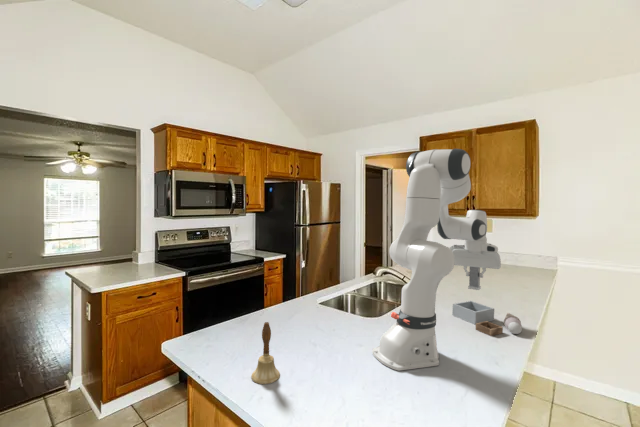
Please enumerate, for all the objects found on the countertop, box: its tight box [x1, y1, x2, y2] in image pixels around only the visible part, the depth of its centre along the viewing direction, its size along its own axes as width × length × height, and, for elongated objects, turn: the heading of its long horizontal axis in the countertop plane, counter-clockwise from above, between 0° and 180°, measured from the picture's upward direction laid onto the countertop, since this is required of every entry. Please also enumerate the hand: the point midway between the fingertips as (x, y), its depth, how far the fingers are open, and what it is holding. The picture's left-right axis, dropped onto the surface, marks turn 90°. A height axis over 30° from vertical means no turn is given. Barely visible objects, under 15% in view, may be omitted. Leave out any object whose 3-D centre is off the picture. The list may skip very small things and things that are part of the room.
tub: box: [451, 300, 495, 326], centre depth 141 cm, size 12×12×5 cm
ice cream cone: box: [503, 312, 522, 335], centre depth 129 cm, size 6×6×15 cm
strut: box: [467, 266, 482, 291], centre depth 141 cm, size 4×4×13 cm
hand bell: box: [250, 321, 281, 385], centre depth 91 cm, size 8×8×16 cm
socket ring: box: [475, 321, 504, 337], centre depth 126 cm, size 7×7×2 cm
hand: (474, 276), depth 140 cm, fingers closed on strut, 4 cm apart
